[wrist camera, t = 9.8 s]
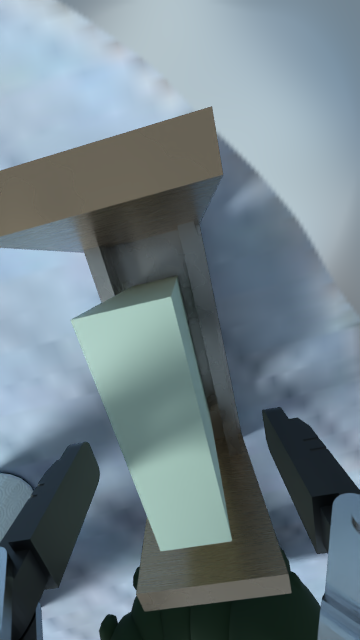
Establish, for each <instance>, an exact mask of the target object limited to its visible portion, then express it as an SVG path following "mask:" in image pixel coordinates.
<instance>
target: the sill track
mask: <svg viewBox="0 0 360 640" xmlns="http://www.w3.org/2000/svg"><path fill="white" fill-rule="evenodd" d="M222 176H223V171H222V165H221V159H220V152H219V146H218V140H217V134H216V128H215V122H214V116H213V110H212V107H208V108H205V109H202V110H198V111H195V112H192V113H189V114H185V115H182V116H179V117H175V118H172V119H169V120H165V121H162V122H159V123H156V124H152V125H149V126H146V127H142V128H139V129H136V130H133V131H129V132H126V133H123V134H119V135H116V136H113V137H110V138H106V139H103V140H100V141H96V142H93V143H90V144H87V145H83V146H80V147H77V148H73V149H70V150H67V151H64V152H60V153H57V154H54V155H50V156H47V157H44V158H40V159H37V160H34V161H31V162H27V163H24V164H21V165H17V166H14V167H11V168H8V169H4V170H1V171H0V248H13V249H30V250H47V251H64V252H81V253H85V256H86V259H87V262H88V265H89V268H90V271H91V274H92V277H93V279H94V282H95V285H96V288H97V291H98V294H99V297H100V300H101V302H102V303H103V302H104V301H106V300H108V299H110V298H112V297H114V296H115V295H117V294H119V293H121V292H123V291H124V290H126V289H128V288H130V287H132V286H136V285H140V284H144V283H149V282H153V281H157V280H161V279H165V278H169V277H174V276H178V280H179V284H180V288H181V293H182V297H183V301H184V305H185V310H186V314H187V318H188V322H189V327H190V331H191V335H192V339H193V344H194V348H195V352H196V356H197V361H198V365H199V369H200V373H201V377H202V382H203V386H204V390H205V394H206V399H207V403H208V407H209V411H210V417H211V423H212V429H213V434H214V440H215V446H216V451H217V457H218V463H219V469H220V474H221V480H222V486H223V491H224V497H225V503H226V509H227V514H228V520H229V526H230V531H231V537H232V541H231V542H224V543H217V544H210V545H203V546H195V547H188V548H181V549H174V550H167V551H160V548H159V546H158V543H157V540H156V538H155V535H154V533H153V530H152V528H151V525H150V523H149V520H148V517H147V520H146V527H145V534H144V541H143V549H142V556H141V563H140V570H139V577H138V585H137V592H136V595H137V597H138V599H139V601H140V603H141V605H142V607H143V609H144V611H153V610H161V609H169V608H177V607H185V606H193V605H201V604H209V603H217V602H225V601H233V600H241V599H249V598H257V597H265V596H273V595H281V594H289V593H292V592H291V586H290V580H289V574H288V571H287V568H286V565H285V562H284V559H283V556H282V553H281V550H280V547H279V544H278V541H277V538H276V535H275V532H274V529H273V526H272V523H271V520H270V517H269V514H268V511H267V508H266V505H265V502H264V499H263V496H262V493H261V490H260V487H259V484H258V481H257V479H256V476H255V473H254V470H253V467H252V464H251V461H250V458H249V455H248V452H247V449H246V446H245V443H244V440H243V437H242V434H241V429H240V424H239V419H238V414H237V409H236V404H235V399H234V394H233V389H232V384H231V379H230V374H229V369H228V364H227V359H226V354H225V349H224V344H223V339H222V334H221V329H220V324H219V319H218V314H217V309H216V305H215V300H214V295H213V290H212V285H211V280H210V275H209V270H208V265H207V260H206V255H205V250H204V245H203V240H202V235H201V230H200V225H199V224H200V222H201V220H202V218H203V215H204V213H205V211H206V209H207V207H208V205H209V203H210V201H211V199H212V197H213V195H214V193H215V191H216V188H217V186H218V184H219V182H220V180H221V178H222Z"/></svg>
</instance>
